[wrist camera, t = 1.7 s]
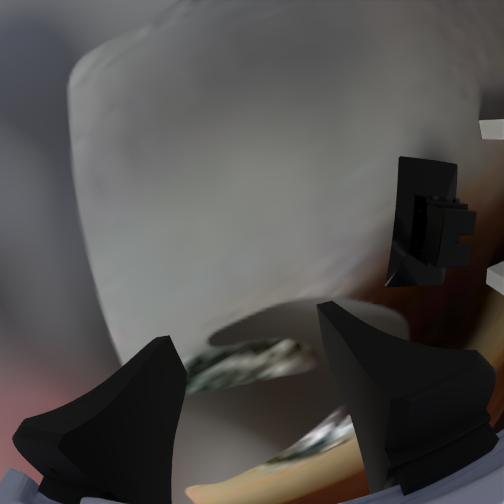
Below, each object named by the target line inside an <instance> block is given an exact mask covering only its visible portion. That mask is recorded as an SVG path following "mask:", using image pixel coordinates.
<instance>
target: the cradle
mask: <svg viewBox="0 0 504 504" xmlns="http://www.w3.org/2000/svg"><path fill="white" fill-rule="evenodd" d="M479 125H480V130H481V136H482V139H496V140H504V119H497V120H479ZM486 284H488V285H489V286H491V287H492V288H494V289H495V290H497V291H498V292H499V293H501V294H502V295H504V261H503V262H501V263H498V264H496V265H494V266H491V267H489V268H487V278H486Z"/></svg>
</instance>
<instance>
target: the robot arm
mask: <svg viewBox="0 0 504 504" xmlns="http://www.w3.org/2000/svg"><path fill="white" fill-rule="evenodd" d="M317 310H318V316H319V322H320V329H321V335H322V341H323V347H324V350H325V354H326V357H327V361H328V363H329V367H330V369H331V371H332V374H333V376H334V378H335V380H336V383H337V385H338V387H339V389H340V392H341V394H342V396H343V399H344V401H345V403H346V406H347V408H348V411H349V413H350V416H351V419H352V423H353V426H354V429H355V433H356V436H357V440H358V444H359V447H360V451H361V455H362V459H363V463H364V467H365V471H366V475H367V480H368V484H369V489H370V494H371V495H367V496H364V497H361V498H357V499H354V500H350V501H346V502H342V503H338V504H504V430H502V431H501V432H499V433H498V434H496V433H495V432H494V430H493V429H492V427H491V426H490V424H489V423H488V422H490V420H491V416H490V415H489V413H488V412H487V410H486V408H487V405H488V403H489V400H490V398H491V395H492V393H493V390H494V387H495V383H496V379H497V378H496V371H495V370H494V368H493V367H492V366H491V365H490V364H489V362H488V361H487V360H486V359H485V358H484V357H483V356H482V355H481V354H480V353H479V352H478V351H477V350H458V349H445V348H438V347H432V346H426V345H422V344H418V343H414V342H410V341H407V340H403V339H400V338H398V337H395V336H392V335H390V334H387V333H385V332H383V331H380V330H378V329H376V328H374V327H372V326H370V325H368V324H367V323H365V322H363V321H362V320H360V319H358V318H357V317H355V316H354V315H352V314H350V313H349V312H347V311H346V310H345V309H343V308H342V307H340V306H339V305H338V304H336V303H335V302H333V301H329V302H325V303H321V304H317ZM186 377H187V372H186V370H185V368H184V366H183V364H182V362H181V359H180V357H179V355H178V353H177V351H176V349H175V347H174V344H173V342H172V340H171V338H170V335H168V336H162V337H156V338H155V339H153V340H152V341H151V342H150V343H148V344H147V345H146V346H145V347H144V348H143V349H142V350H140V351H139V352H138V353H137V354H136V355H135V356H134V357H133V358H132V359H130V360H129V361H128V362H127V363H126V364H125V365H124V366H123V367H121V368H120V369H119V370H118V371H117V372H115V373H114V374H113V375H112V376H111V377H110V378H108V379H107V380H105V381H104V382H103V383H101V384H100V385H98V386H97V387H96V388H94V389H93V390H91V391H89V392H88V393H86V394H84V395H83V396H81V397H79V398H77V399H75V400H74V401H72V402H70V403H68V404H66V405H64V406H61V407H59V408H57V409H54V410H52V411H49V412H46V413H43V414H40V415H37V416H33V417H30V418H26V419H25V420H23V422H22V423H21V425H20V426H19V428H18V429H17V431H16V432H15V434H14V436H13V438H12V440H13V443H14V445H15V447H16V448H17V450H18V451H19V452H20V454H21V455H22V456H23V457H24V458H25V459H26V460H27V461H28V462H29V463H30V464H31V465H32V466H33V467H34V468H36V469H37V470H38V471H39V472H40V473H41V474H42V475H43V476H44V477H43V480H42V482H41V484H40V486H39V485H38V484H37V483H36V482H35V481H34V480H33V479H32V478H30V477H29V476H27V475H26V474H24V473H22V472H20V471H18V470H16V469H13V468H11V467H9V468H8V470H7V472H6V473H5V475H4V477H3V479H2V481H1V483H0V504H172V500H171V473H172V456H173V445H174V439H175V434H176V429H177V425H178V421H179V417H180V413H181V409H182V404H183V400H184V396H185V390H186Z"/></svg>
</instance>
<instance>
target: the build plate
mask: <svg viewBox="0 0 504 504" xmlns="http://www.w3.org/2000/svg"><path fill="white" fill-rule="evenodd" d="M456 187H457V164H453V163H447V162H441V161H434V160H427V159H419V158H411V157H403V156H400V157H399V164H398V184H397V199H396V210H395V221H394V230H393V238H392V246H391V253H390V260H389V267H388V273H387V279H386V287H402V286H424V285H441V284H443V281H444V276H445V271H446V267H464V266H468V262H469V257H470V252H471V246H472V244H471V243H470V242H460V235H473V234H474V227H475V220H476V211H474V210H471V209H468V204H466V203H462V202H460V199H459V198H456Z"/></svg>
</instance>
